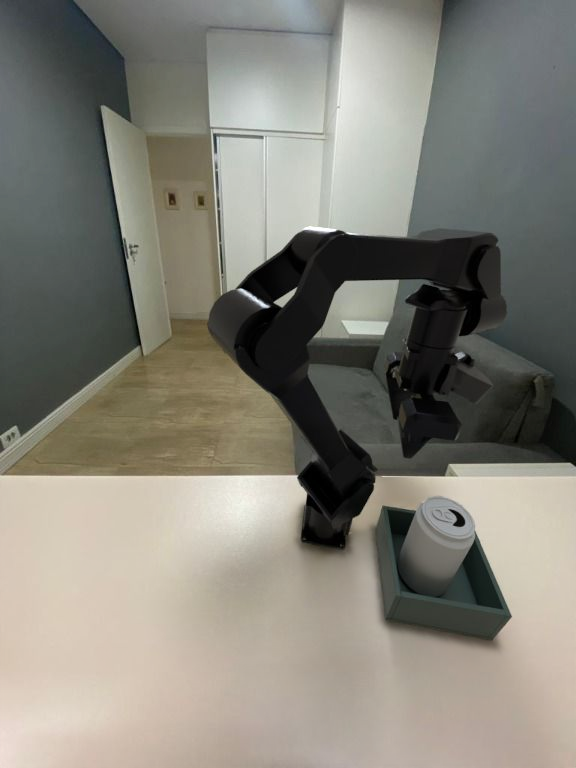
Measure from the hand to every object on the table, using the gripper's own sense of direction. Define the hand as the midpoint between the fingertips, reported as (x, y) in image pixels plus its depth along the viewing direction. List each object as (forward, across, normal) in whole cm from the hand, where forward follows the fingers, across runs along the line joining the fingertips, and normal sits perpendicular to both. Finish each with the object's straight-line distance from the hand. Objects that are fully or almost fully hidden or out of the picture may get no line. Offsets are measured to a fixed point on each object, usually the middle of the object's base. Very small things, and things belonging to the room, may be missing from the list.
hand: (401, 436), depth 47 cm
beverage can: (+13, -13, -3) cm, 18 cm away
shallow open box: (+13, -13, -4) cm, 19 cm away
